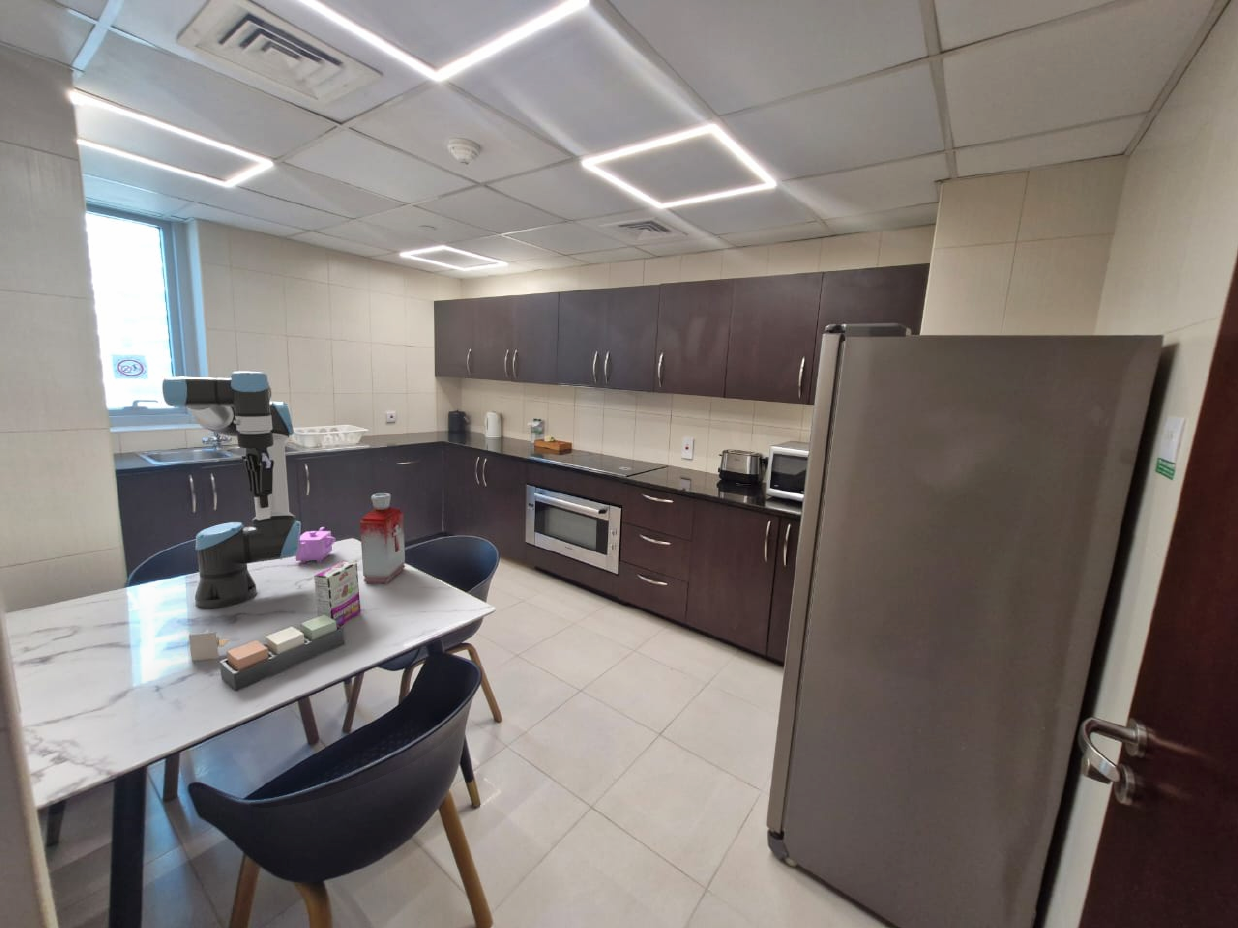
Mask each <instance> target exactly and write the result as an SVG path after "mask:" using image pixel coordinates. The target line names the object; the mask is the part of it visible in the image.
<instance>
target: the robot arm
mask: <svg viewBox="0 0 1238 928" xmlns="http://www.w3.org/2000/svg"><path fill="white" fill-rule="evenodd" d="M268 380H269V379H268V375H267V374H266V373H265V372H261V371H259V372H257V371H234V372H232V373H231V375H230V377H202V376H201V377H199V376H198V377H197V376H195V377H194V376H182V375H180V376H167V377H164V379H163V380H162V384H161V385H162V387H161V388H162V397H163V400H164V402H165V403H166V405H168V406H170V407H180V408H184V407H186V408H187V409H188V410H189V411H190V412H191V413H192V414H193V415H194V419H195V421H196V422H197V423H198V424H199V425H200V426H201V427H202V428H204V429H206V430H208V431H210V432H213V433H216V434H220V435H224V436H228V437H236V439H237V446H238V447H239V448H241V449H245V455H241V459H242V462H243V466H244V471H245V476H246V481H247V485H248V491H249V492H252V495H253V498H254V506H255V509H254V510H255V517H253V518H252V519H251V520H252V521H251V524H252V525H249V526H245V525H244V524H243V523H242V522H240V521H230V522H225V523H220V524H216V525H212V526H210V527H207V528H204V529H202V530H201V531H200V532H198V533H197V534H196V536H195V548H194V549H195V551H196V556H197V564H198V571H199V580H198V581H199V582H198V585H197V587H196V588H197V589H196V592H195V595H194V600H195V605H196V606H197V607H199V608H202V609H216V608H217V609H219V608H224V607H229V606H233V605H238V604H240V603H242V602H245V601H247V600H249V599H251V598H253V597H254V596H255V595H256V594H257V592H258V591H257V584H256V582H255V581H254V579H253V577H252V575H251V573H250V571H249V570H248V569H249V568H248V564H253V563H260V562H266V561H267V562H269V561H275V560H283V559H286V558H287V559H289V558H292V557H295V555H296V554H297V553H298V551H299V544H300V536H301V525H302V523H301V521H300V520H296V516H295V514H293V513H292V512H291V511H290V503H289V501H290V500H289V487H288V478H287V477H288V474H287V461H286V447H285V446H286V444H287V443H288V442H289V441H290V436H293V435H295V432H294V426H293V423H292V417H291V413H290V410H289V406H288V404H287V403H285V402H283V401H272V400H271V397H272V388H271V387H270V384H269V381H268Z"/></svg>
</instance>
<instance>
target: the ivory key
mask: <svg viewBox="0 0 1238 928" xmlns="http://www.w3.org/2000/svg"><path fill="white" fill-rule="evenodd" d="M265 642H266V643H265V644H267V648H268V650H269V651H270V652H271V653H273V654H274V655H278V654H280V653H282V652H285V651H287V650H290V649H292V648H295V647H297V646H300V645H302V644H304V634H303V633H301V632H300V630H298V629H296V627H294V626H290V627H287V628H285V629H283V630H280V631H277V632H275V633H272V634H269V635H267V636H265Z"/></svg>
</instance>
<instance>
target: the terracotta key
mask: <svg viewBox="0 0 1238 928" xmlns="http://www.w3.org/2000/svg"><path fill="white" fill-rule="evenodd" d="M226 656H227V658H228V665H229V666H230V667H231V668H232V669H233V670H235V671H239V670H241V669H243V668H246V667H248V666H251V665H253V664H256V663H258V662H261V661H263V660H265V659H268V658H269V657H268V648H267V647H265V646H264V644H263V643H261V642H259V640H257V639H255V640H253V641H250V642H248V643H246V644H243V645H240V646H237V647H234V648H231V649H229V650H227V651H226Z"/></svg>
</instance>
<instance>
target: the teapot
mask: <svg viewBox="0 0 1238 928" xmlns="http://www.w3.org/2000/svg"><path fill="white" fill-rule="evenodd" d="M324 529H325V526H322V527H320V528H319V530H311V531H305V532H303V533H302V534H300V544H299V551H298V553H297V554H296V555H295V556H294V557H295V562H297V561H298V562H300V563H302V564H303V563H307V562H308V561H316V563H321V562H323V559H325V558H327V557H328V556H329V554H330V552H332V551H333V546H332V545H334V544H335V542H336V538H335V537H334V536H332V533H331V532H332V531H331V530H324Z"/></svg>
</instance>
